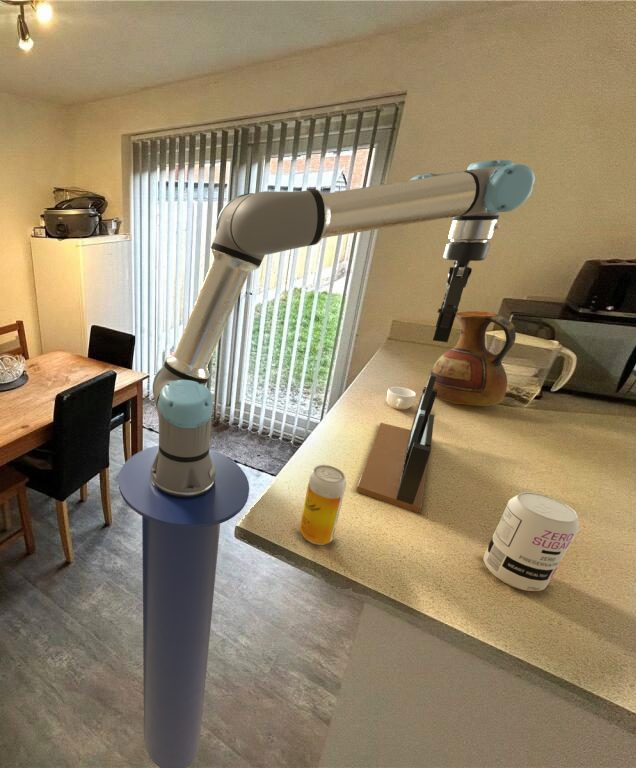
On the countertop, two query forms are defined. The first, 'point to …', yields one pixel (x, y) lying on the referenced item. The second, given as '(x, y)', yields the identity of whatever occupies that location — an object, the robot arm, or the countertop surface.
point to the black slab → (421, 411)
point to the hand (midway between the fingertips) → (441, 334)
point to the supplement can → (531, 540)
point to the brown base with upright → (399, 463)
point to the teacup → (400, 397)
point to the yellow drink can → (322, 504)
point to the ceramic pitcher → (474, 363)
